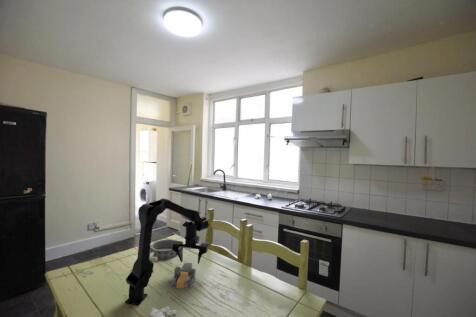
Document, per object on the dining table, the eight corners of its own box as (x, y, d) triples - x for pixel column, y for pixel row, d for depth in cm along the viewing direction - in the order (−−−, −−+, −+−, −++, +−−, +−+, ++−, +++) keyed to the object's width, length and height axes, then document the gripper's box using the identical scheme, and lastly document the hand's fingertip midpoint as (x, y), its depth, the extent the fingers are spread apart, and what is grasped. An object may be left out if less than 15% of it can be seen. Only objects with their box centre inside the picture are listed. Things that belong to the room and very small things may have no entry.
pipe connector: (160, 263, 122) (161, 246, 122) (152, 273, 112) (152, 254, 112) (144, 262, 123) (144, 244, 123) (134, 271, 113) (134, 252, 113)
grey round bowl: (172, 260, 126) (172, 252, 126) (144, 257, 129) (144, 249, 129) (184, 247, 144) (185, 240, 144) (159, 245, 147) (159, 238, 147)
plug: (184, 288, 100) (184, 280, 100) (175, 288, 100) (175, 279, 100) (191, 270, 116) (192, 263, 116) (184, 269, 116) (184, 262, 116)
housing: (191, 287, 101) (191, 275, 101) (170, 285, 102) (171, 273, 102) (195, 279, 107) (195, 269, 107) (176, 277, 109) (176, 267, 108)
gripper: (212, 229, 121) (211, 257, 121) (180, 227, 123) (179, 254, 123) (206, 237, 110) (205, 267, 110) (171, 234, 112) (170, 263, 112)
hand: (190, 262), depth 114 cm, fingers open, 9 cm apart
